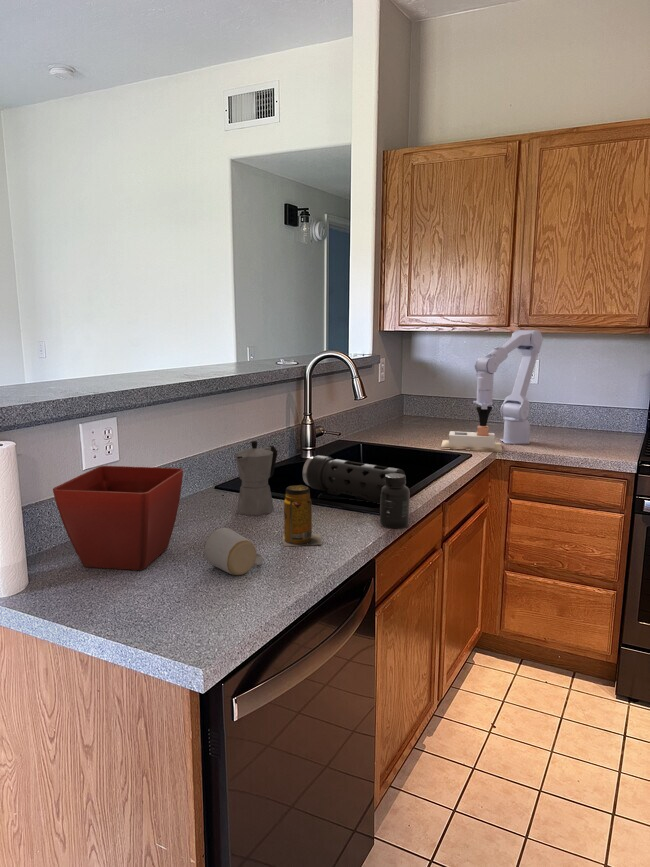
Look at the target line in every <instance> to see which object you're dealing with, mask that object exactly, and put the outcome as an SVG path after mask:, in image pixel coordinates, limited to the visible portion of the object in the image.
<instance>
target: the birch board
mask: <svg viewBox="0 0 650 867" xmlns="http://www.w3.org/2000/svg"><path fill="white" fill-rule="evenodd" d="M441 448H450V449H470V450H482V451H481V452H488V451H491V452H492V453H503V447H502V442H496V441H495V445H494V448H485V447H465V446H449V439H442V442H441V446H440V449H441ZM491 452H490V453H491Z"/></svg>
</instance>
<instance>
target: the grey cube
mask: <svg viewBox="0 0 650 867" xmlns="http://www.w3.org/2000/svg"><path fill="white" fill-rule="evenodd" d="M463 432H464V431H456V435H467V433H463Z"/></svg>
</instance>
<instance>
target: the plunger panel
mask: <svg viewBox="0 0 650 867" xmlns="http://www.w3.org/2000/svg"><path fill="white" fill-rule="evenodd" d="M456 432H457V431H455V430H454V431H453V430H450V431H449V434H448V440H449V446H465V447H485V448H494V445H495V442H496V437H495V435H496V434H495V433H494V432H489V433H488V436H477V431H475V432H474V431H473V432H472V431H462V432H463V433H467V435H456Z"/></svg>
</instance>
